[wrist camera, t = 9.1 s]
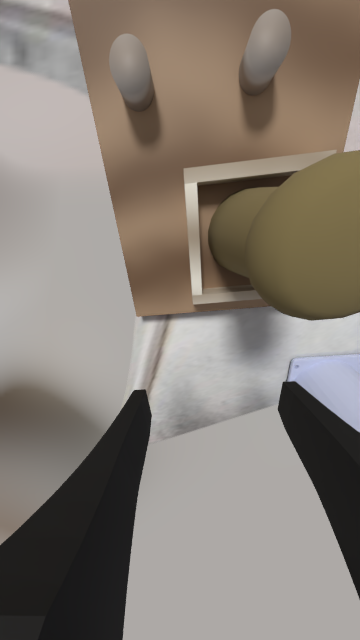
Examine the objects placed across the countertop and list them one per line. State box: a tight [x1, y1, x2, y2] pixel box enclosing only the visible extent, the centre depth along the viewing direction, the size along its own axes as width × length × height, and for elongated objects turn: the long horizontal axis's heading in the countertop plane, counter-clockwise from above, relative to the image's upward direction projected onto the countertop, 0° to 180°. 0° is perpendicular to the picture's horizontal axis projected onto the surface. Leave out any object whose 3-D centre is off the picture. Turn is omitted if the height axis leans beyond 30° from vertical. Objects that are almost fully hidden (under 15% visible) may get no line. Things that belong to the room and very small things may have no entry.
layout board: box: [68, 0, 360, 317], centre depth 13 cm, size 20×16×3 cm
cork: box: [208, 150, 360, 320], centre depth 10 cm, size 6×6×11 cm
